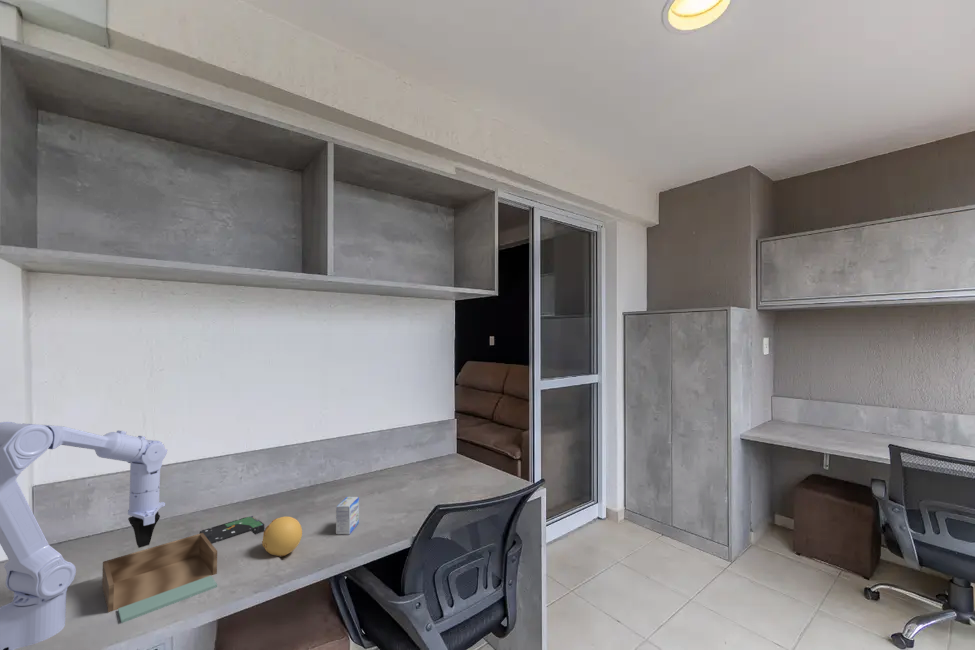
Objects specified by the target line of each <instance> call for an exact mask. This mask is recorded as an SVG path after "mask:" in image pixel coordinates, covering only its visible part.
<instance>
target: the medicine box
mask: <svg viewBox="0 0 975 650" xmlns="http://www.w3.org/2000/svg"><path fill="white" fill-rule="evenodd" d="M359 524H360V497H359V496H346V497H345V498H344V499H343V500H342V501H341V502H339V504H337V506H336V507H335V533H336V535H351V534H352V533H353V531H354V530H355V528H356V527H357V526H358V525H359Z"/></svg>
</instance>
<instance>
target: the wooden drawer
mask: <svg viewBox="0 0 975 650" xmlns="http://www.w3.org/2000/svg"><path fill="white" fill-rule="evenodd" d="M217 574H218V550H217V548H215V546H214V544H211V543H210V541H209V540H208V539H207V537H206V536H205V535H204V534H203V533H200V532H199V533H197V534H194V535H190V536H187V537H184V538H180V539H179V538H178V539H177V540H173V541H170V542H167V543H166V542H165V543H162V544H160V545H156V546H152V547H148V548H145V549H142V550H138V551H135V552H132V553H128V554H125V555H122V556H118V557H114V558H111V559H107V560H104V561H102V574H101V575H102V576H101V578H102V579H101V581H102V582H101V586H102V591H103V595H104V599H105V605H106V609H107V612H108V613H112V612H114V611H118V608H121V607H124V606H127V605H129V604H132V603H135V602H138V601H141V600H143V599H146V598H149V597H152V596H155V595H157V594H160V593H163V592H166V591H169V590H171V589H174V588H177V587H180V586H183V585H185V584H188V583H191V582H194V581H197V580H199V579H202V578H205V577H208V576H212V577H213V576H215V575H217Z"/></svg>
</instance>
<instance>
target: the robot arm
mask: <svg viewBox="0 0 975 650" xmlns="http://www.w3.org/2000/svg"><path fill="white" fill-rule="evenodd" d="M164 444H165V443H163V442H162V441H160V440H155V439H154V440H153V439H146V436H143V435H138V436H134V435H129V434H127V431H125V430H116V432H115V431H110V432H108V433H106V434H104V435H103V434H102V435H100V434H96V433H92V432H87V431H85V430H81V429H76V428H71V427H67V426H62V425H53V424H52V425H51V424H40V423H38V424H36V423H18V422H17V423H16V422H12V421H1V422H0V546H1V548H2V550H3V552H4V553H5V555H6V557H7V559H8V560H7V561H6V563H5V564H4V566H3V567H4V569H5V571H6V577H5V584H4V585H5V587H6V589H8V590H9V591H10V592H11V591H12V592H13V600H12V601H11V602H9V603H6V604H4V605H1V606H0V650H18V649H20V648H24V647H27V646H31V645H35V644H39V643H40V642H44V641H46V640H48V639H50V638H52V637H53V636H56V635H57V634H59V633H60V632H61V631H63V629H64V628H65V626H66V615H67V614H66V613H67V611H66V610H67V608H66V607H67V591H68V588H69V587H70V585H72V583H73V581H74V579H75V578H76V574H77V569H76V565H75V564H74V563H72V562H71V561H67V560H66V559H65V558H64V557H63V555H62V554H61V553H60V552H59V551H57V550H56V549H55V548H54V547H52V546H51V545H50V543H49V541H48V540H47V539H46V536H45V534H44V533H43V530H42V529H41V526H40V525H39V523H38V521H37V518H36V517H35V515H34V512H33V510H32V508H31V507H30V505H29V503H28V500H27V498H26V496H25V494H24V493H23V491H22V489H21V486H20V485H19V483H18V481H17V478H18V477H19V476H20V474H21V473H22V472H23V471H25V469H27V468H28V467H29V466H30V465H31V464H33V463H34V462H35V461H37V459H39V457H41V456H42V455H43V454H44V453H45V452H46V451H48V450H55V449H57V448H59V446H67V447H73V448H80V449H81V448H82V449H87V450H93V451H94V452H95V454H96V456H97V457H98V458H102V459H109V460H114V461H120V462H126V463H128V464H129V466H130V467H129V469H130V470H129V471H130V472H129V499H128V501H129V502H128V510H127V515H128V516H130V517H128V519H127V520H128V523H129V524H130V526H131V527H132V529H133V533H134V538H135V542H136V545H137V547H138V549H140V548H143V547H146V546H150V544H151V540H152V538H153V533H154V530H155V527H156V525H157V523H158V522H159V520H160V518H161V515H160V513H159V510H160V509H161V508H163V507H166V502H164V501H161V502H160V495H161V494H160V493H161V492H160V491H161V490H160V488H161V485H160V484H161V483H160V482H161V468H162V467H163V461H164V459H165V458H166V457H167V453H168V449H166V447H165V445H164Z"/></svg>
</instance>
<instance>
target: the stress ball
mask: <svg viewBox="0 0 975 650" xmlns="http://www.w3.org/2000/svg"><path fill="white" fill-rule="evenodd" d="M262 533H263V535H262V541H261V545H262V548H264V549H265V551H266V552H267V553H269V554H270V555H272V556H277V557H279V558H281V557H286V556H287V555H288V554H291V552H293V551H294V550H295V549H296V548H297V547H298V545H299V544H300V543H301V540H302V537H303V528H302V524H300V522H299V520H297V519H296V518H294V517H292V516H280V517H278V518H277V517H276V518H275V519H273V520H272V521H271V522H270V523H269V524H268V525H267V526H266V527H265V529H264V532H262Z"/></svg>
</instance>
